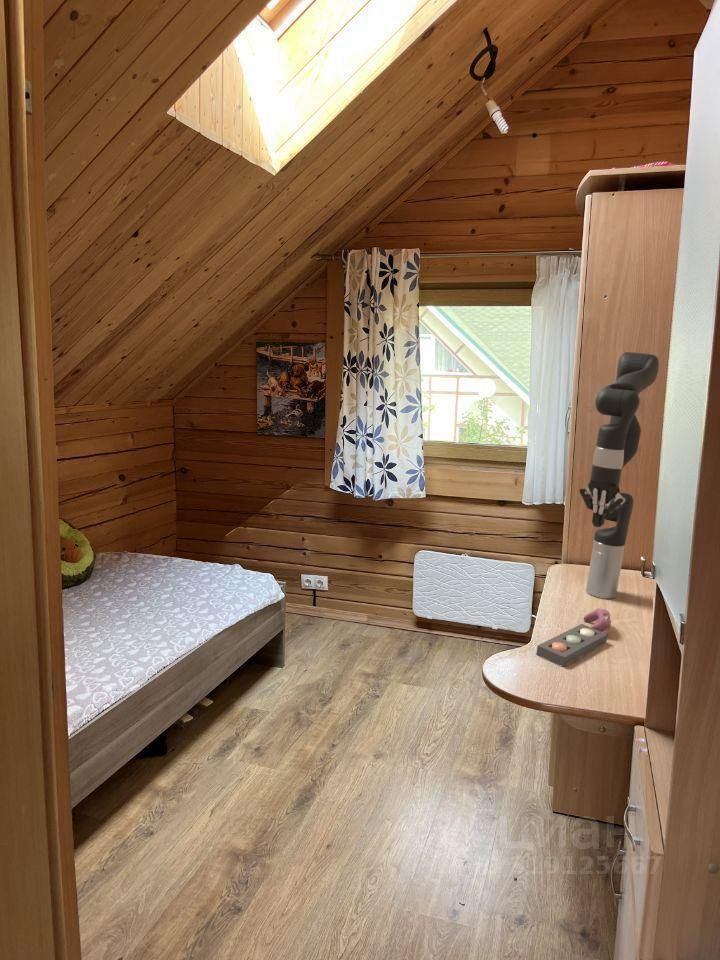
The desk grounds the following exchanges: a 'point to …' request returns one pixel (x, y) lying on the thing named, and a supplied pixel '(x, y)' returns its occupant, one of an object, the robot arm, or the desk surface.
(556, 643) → the terracotta button
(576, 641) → the sage button
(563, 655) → the button panel
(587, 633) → the cream button
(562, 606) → the desk surface
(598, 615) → the video game controller
